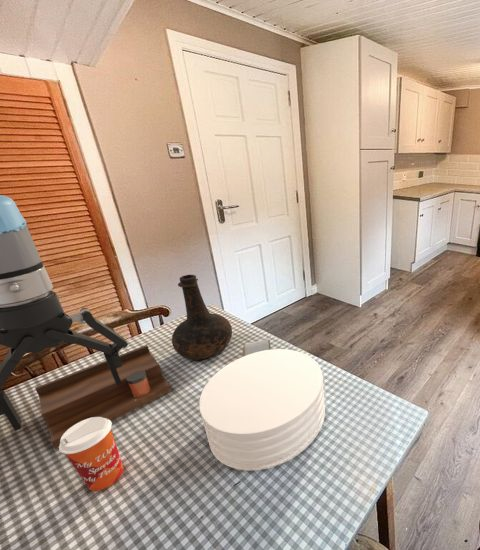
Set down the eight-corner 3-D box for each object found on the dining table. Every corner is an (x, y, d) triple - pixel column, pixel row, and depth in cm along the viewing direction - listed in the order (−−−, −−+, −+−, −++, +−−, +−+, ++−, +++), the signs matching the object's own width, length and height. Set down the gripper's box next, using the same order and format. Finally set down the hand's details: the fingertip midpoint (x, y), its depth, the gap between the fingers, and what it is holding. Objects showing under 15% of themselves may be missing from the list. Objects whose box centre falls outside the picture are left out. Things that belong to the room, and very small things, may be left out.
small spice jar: (128, 397, 80) (122, 381, 78) (139, 385, 84) (134, 370, 82) (143, 397, 80) (138, 381, 78) (154, 386, 84) (149, 370, 82)
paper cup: (92, 507, 58) (64, 456, 53) (77, 485, 62) (50, 436, 57) (137, 473, 64) (117, 424, 59) (121, 455, 68) (101, 408, 63)
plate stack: (267, 370, 95) (262, 339, 90) (344, 400, 83) (343, 366, 79) (182, 441, 71) (170, 404, 67) (274, 496, 60) (267, 456, 56)
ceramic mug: (246, 358, 100) (242, 338, 97) (272, 353, 102) (269, 334, 99) (244, 379, 91) (240, 359, 88) (273, 374, 93) (269, 353, 90)
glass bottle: (234, 332, 115) (220, 262, 104) (235, 359, 100) (219, 281, 89) (180, 343, 108) (160, 270, 98) (173, 374, 93) (148, 292, 83)
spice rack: (49, 414, 79) (35, 387, 76) (154, 368, 96) (146, 344, 92) (56, 451, 69) (40, 422, 66) (172, 393, 86) (164, 367, 82)
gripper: (-128, 341, 36) (-38, 463, 44) (124, 279, 54) (156, 375, 62) (-114, 320, 41) (-34, 434, 49) (114, 270, 58) (145, 360, 66)
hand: (72, 401), depth 55 cm, fingers open, 13 cm apart
